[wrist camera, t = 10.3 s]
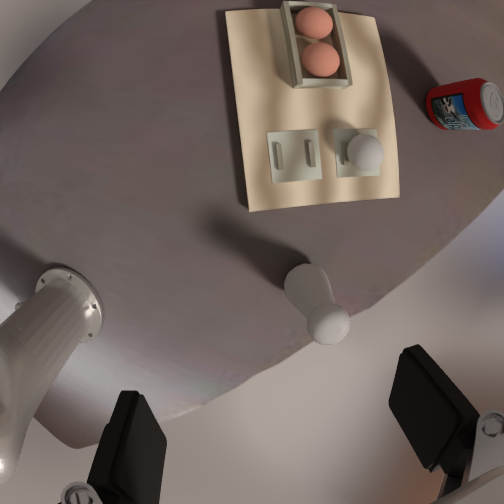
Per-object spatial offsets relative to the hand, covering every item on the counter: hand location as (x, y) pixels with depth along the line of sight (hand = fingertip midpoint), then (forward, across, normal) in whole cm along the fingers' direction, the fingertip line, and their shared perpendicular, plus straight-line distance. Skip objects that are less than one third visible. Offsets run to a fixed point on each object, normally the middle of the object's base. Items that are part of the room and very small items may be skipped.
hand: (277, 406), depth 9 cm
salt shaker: (+28, -7, +8) cm, 30 cm away
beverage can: (+28, -31, -15) cm, 45 cm away
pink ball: (+26, -11, -24) cm, 38 cm away
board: (+28, -11, -15) cm, 34 cm away
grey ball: (+26, -15, -8) cm, 31 cm away
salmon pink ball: (+26, -11, -19) cm, 35 cm away
